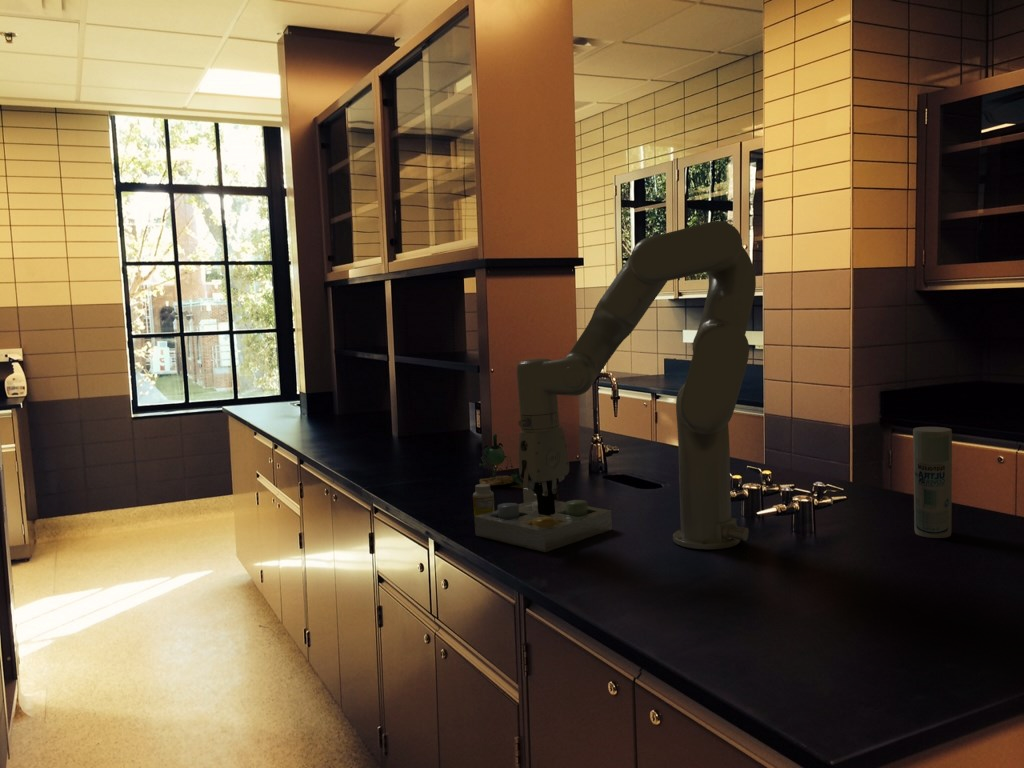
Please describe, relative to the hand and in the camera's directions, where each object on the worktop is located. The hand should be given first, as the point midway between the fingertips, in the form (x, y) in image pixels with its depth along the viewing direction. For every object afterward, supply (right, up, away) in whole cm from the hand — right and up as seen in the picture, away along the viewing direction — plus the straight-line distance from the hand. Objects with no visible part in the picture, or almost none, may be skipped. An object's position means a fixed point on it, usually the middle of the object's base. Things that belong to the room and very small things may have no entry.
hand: (546, 513), depth 163 cm
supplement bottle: (-13, -5, +18) cm, 23 cm away
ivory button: (0, -4, +15) cm, 15 cm away
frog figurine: (-10, -2, +57) cm, 58 cm away
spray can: (+73, -3, -7) cm, 73 cm away
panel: (0, -5, +8) cm, 9 cm away
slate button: (-8, -3, +8) cm, 11 cm away
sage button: (+7, -3, +7) cm, 10 cm away
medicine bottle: (0, -4, +27) cm, 28 cm away
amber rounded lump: (-1, -5, +1) cm, 5 cm away
